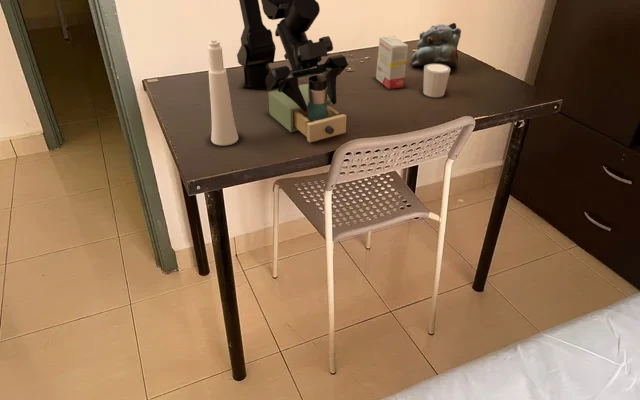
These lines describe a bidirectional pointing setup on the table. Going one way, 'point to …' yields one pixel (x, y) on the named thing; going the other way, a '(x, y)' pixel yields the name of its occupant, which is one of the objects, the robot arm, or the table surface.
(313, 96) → the thermos flask
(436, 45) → the lucky cat figurine
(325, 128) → the drawer
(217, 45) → the cosmetic bottle
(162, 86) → the table surface
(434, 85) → the white cylinder
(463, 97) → the table surface
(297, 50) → the robot arm
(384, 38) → the ink box
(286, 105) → the drawer unit
